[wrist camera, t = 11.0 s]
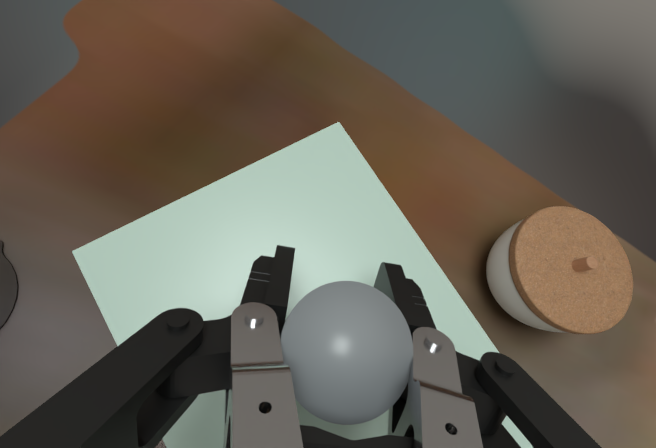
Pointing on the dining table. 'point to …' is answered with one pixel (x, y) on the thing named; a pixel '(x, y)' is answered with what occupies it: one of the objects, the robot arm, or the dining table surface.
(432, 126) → the dining table surface
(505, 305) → the lidded jar
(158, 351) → the robot arm
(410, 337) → the lid
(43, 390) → the dining table surface
